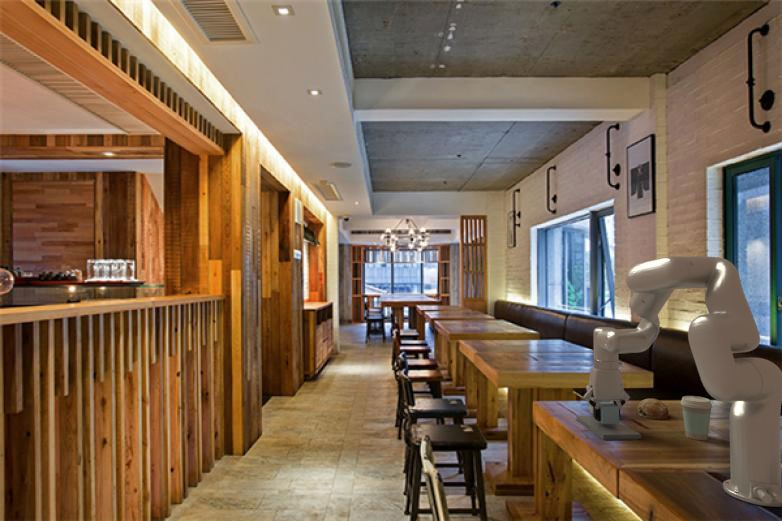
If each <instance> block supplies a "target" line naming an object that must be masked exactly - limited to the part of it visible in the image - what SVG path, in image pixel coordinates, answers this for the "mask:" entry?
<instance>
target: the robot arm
mask: <svg viewBox="0 0 782 521" xmlns="http://www.w3.org/2000/svg"><path fill="white" fill-rule="evenodd" d="M737 269H738V268H737V267H736V266H735V265H734V264H733V263H732V262H731V261H729V260H728V259H726V258H723V257H718V256H697V255H696V256H691V255H690V256H688V255H687V256H682V255H681V256H677V255H675V256H665V257H659V258H655V259H651V260H648V261H646V260H645V261H643V262H638V263H636V264H634V265H632V266H631V267H630V268H629V269H628V270H627V272H626V276H625V282H626V283H625V284H626V287H627V288H628V289H629V290H630V291H631V292H632V293H633V294H632V296H631V298H630V299H629V301H628V307H629V309H630V310H631V311H632V312H633V313H634V314H635V315H636V316H638V317H640V318H642V319H641V321H640V322H639V324H637V326H636V328H622V329H616V328H615V327H609V326H607V327H606V326H602V327H600V326H598V327H596V328H594V329H593V367H592V368H590V372H589V381H588V384H589V390H588V392H587V391H586V393H585V394H584V395H583V399H584V400H585V401H586V402H587V403H588V402H589V403H590V404H591V405H592V407H593V414H592V416H594V418H595V420H597V421H601V410H600V409H599V406H600V403H601V400H613V403H614V404H615V405H617V406H619V421H620V419H621V410H622V409H623V408H622V407H623V406H624V405H625V404H626V402H628V401H629V400H630V398H631V397H630V395H629V394H628V393H627V392H626V391H625V390H624V381H623V380H624V379H623V374H622V371H621V369H620V366H623V361H620V360H619V355H620V354H621V355H622V354H632V353H642V352H645V351H647V350H648V349H649V348H650V347H651V345H652V344H653V343H654V342H655V341H656V339H657V338H658V335H659V333H660V326H661V324H660V323H661V322H660V318H659V314H660V312H661V310H662V309H663V307H664V306H665V304H666V303H667V301H668V300H669V298H670V297H671V295H672V294H673V293H674V291H675V290H678V289H679V290H681V289H683V290H684V289H685V290H687V289H688V290H689V289H706V290H705V294H704V304H705V307H706V310H707V312H708V313H705V314H700V315H698V316H696V317H695V318H693V319H692V321H691V322H690V324H689V326H688V331H687V339H688V343H689V347H690V351H691V354H692V356H693V359H694V363H695V366H696V369H697V372H698V374H699V377H700V381H701V383H702V385H703V387H704V389H705V392H707V393H708V395H710V397H712V398H713V399H715V400H717V401H719V402H724V403H731V406H730V410H729V462H730V466H729V467H730V478H729V479H727V480H726V479H725V480H724V481H723V483H722V489H723V491H724V492H725V493H727V494H728V495H729V496H731V497H733V498H735V499H737V500H739V501H743V502H746V503H748V504H749V503H750V504H753V505H757V506H763V507H771V508H772V507H773V508H775V507H776V508H778V507H782V458H781V456H782V455H781V453H782V452H781V408H782V407H781V406H782V370H781V368H780V367H779V366H778V365H776V364H775V363H774V362H773V361H770V360H768V359H765V358H761V357H739V358H736V357H734V354H738V353H739V354H742V353H748V352H752V351H753V350H755V349H757V347H759V345H760V343H761V342H760V341H761V335H760V332H759V328H758V326H757V324H756V320H755V318H754V315H753V312H752V311H751V310H752V309H751V308H750V303H749V302H748V300H747V298H746V295H745V292H744V289H743V285H742V280H741V277H740V273H739V270H737ZM590 397H593V398H594V399H593V401H592V400H591V399H590ZM620 422H621V421H620Z"/></svg>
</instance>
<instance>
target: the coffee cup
mask: <svg viewBox="0 0 782 521" xmlns="http://www.w3.org/2000/svg"><path fill="white" fill-rule="evenodd" d="M711 401H712V400H710V399H709V398H706V397H702V396H695V395H685V396H682V398H681V400H680V405H681V410H682V417H683V423H684V429H685V436H686V437H687V438H688V437H689V439H691V438H692V440H696V441H708V439H709V431H710V424H711V423H710V422H711V415H712V408H713V404H712V402H711Z"/></svg>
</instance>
